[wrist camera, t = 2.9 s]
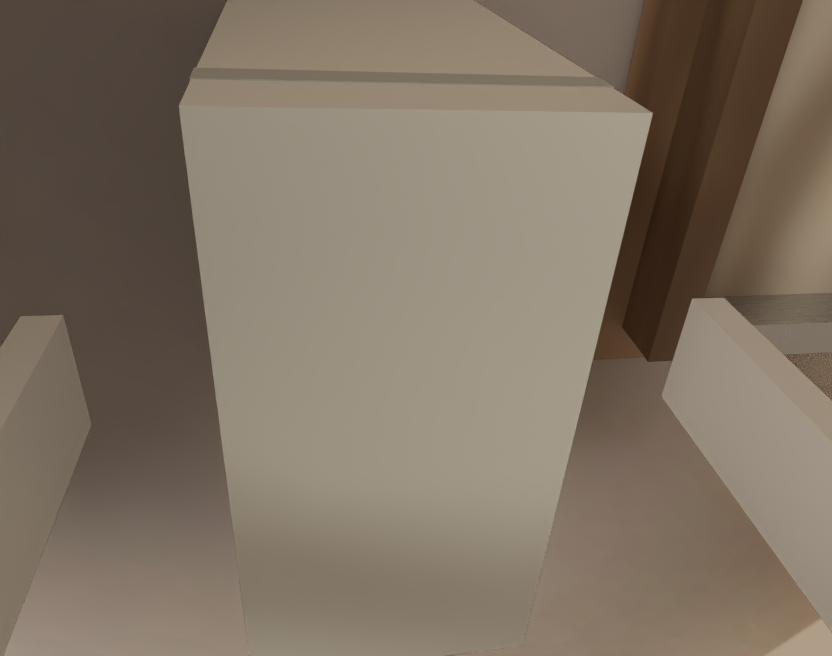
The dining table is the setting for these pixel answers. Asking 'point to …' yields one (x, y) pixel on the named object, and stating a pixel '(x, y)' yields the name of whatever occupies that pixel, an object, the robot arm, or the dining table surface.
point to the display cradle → (728, 175)
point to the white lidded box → (399, 309)
